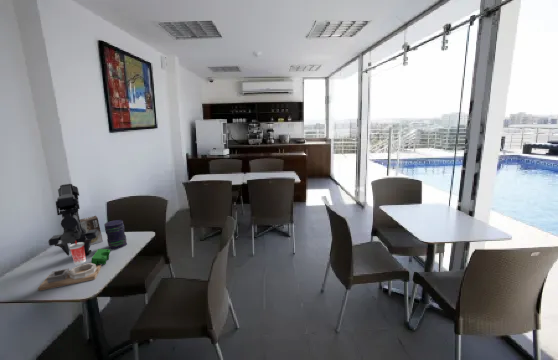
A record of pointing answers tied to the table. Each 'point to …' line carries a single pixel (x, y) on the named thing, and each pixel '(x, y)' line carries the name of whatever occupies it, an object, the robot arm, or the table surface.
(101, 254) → the clamp
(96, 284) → the table surface
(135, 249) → the table surface
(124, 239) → the storage jar
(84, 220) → the coffee box
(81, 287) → the table surface
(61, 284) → the socket board
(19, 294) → the table surface
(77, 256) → the beverage cup
